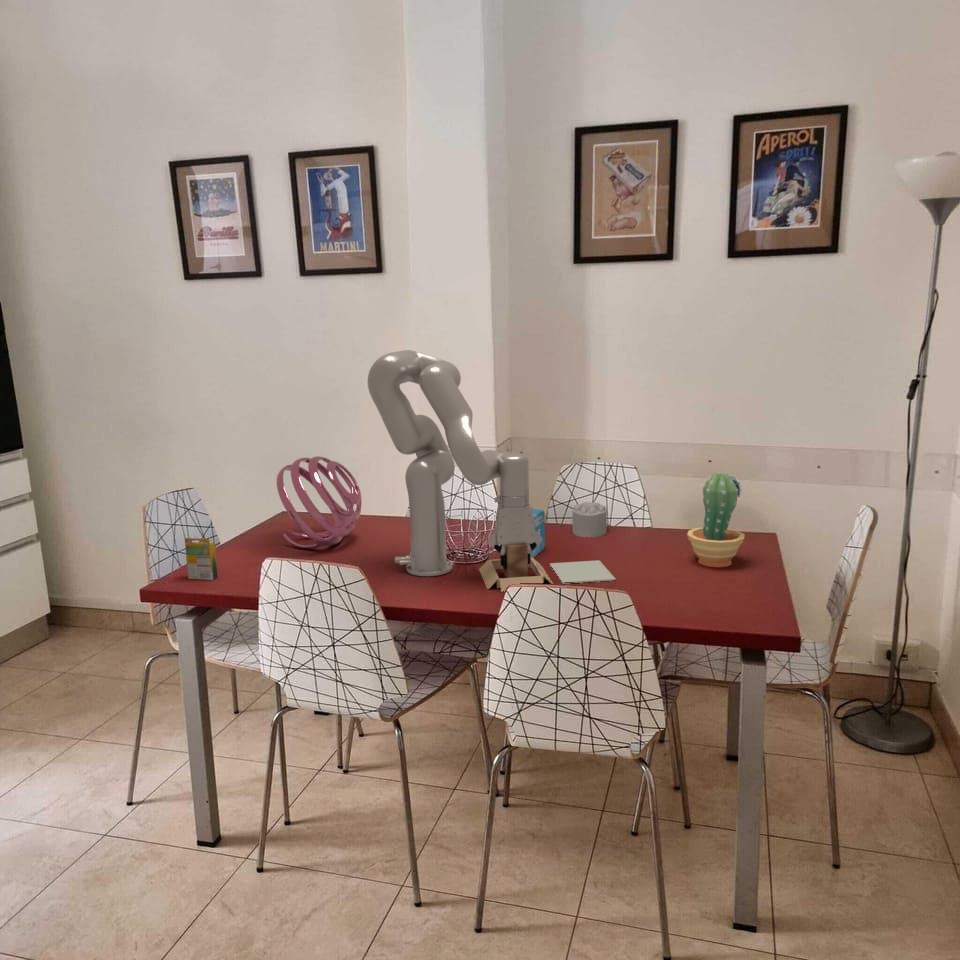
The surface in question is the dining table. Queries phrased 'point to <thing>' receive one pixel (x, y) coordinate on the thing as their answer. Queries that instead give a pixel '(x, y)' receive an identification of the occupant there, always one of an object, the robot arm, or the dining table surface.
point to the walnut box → (516, 561)
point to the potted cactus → (717, 522)
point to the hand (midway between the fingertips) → (515, 566)
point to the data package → (539, 530)
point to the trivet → (582, 572)
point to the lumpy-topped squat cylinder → (589, 519)
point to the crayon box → (201, 559)
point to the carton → (492, 577)
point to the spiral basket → (340, 515)
